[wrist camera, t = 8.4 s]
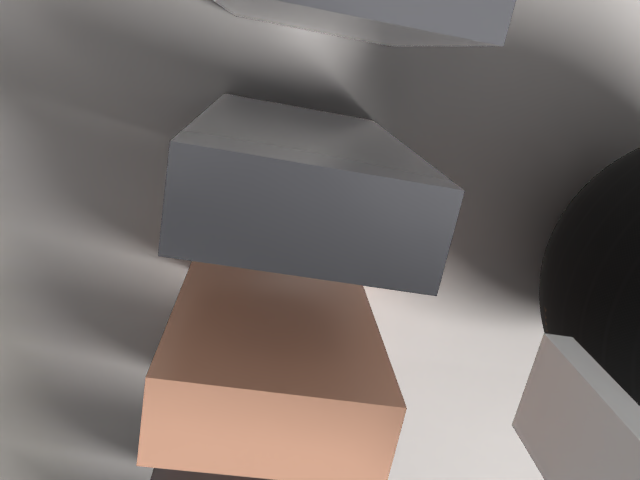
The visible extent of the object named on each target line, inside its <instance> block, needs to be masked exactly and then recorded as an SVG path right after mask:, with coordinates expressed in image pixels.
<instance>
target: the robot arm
mask: <svg viewBox="0 0 640 480" xmlns="http://www.w3.org/2000/svg"><path fill="white" fill-rule="evenodd" d="M512 426H513V428H514V429H515V431H516V433H517V434H518V436H519V438H520V439H521V441H522V443H523V444H524V446H525V448H526V449H527V451H528V453H529V454H530V456H531V458H532V459H533V461H534V463H535V464H536V466H537V468H538V469H539V471H540V473H541V474H542V476H543V478H544V480H640V406H639V405H638V404H637V403H636V402H635V401H634V400H633V399H632V398H631V397H630V396H629V395H628V394H627V393H626V392H625V391H624V390H623V389H622V388H621V386H620V385H619V384H618V383H617V382H616V381H615V380H614V379H613V378H612V377H611V376H610V375H609V374H608V373H607V372H606V371H605V370H604V369H603V368H602V367H601V366H600V365H599V364H598V363H597V362H596V361H595V360H594V359H593V358H592V357H591V356H590V355H589V354H588V353H587V351H586V350H585V349H584V348H583V347H582V346H581V345H580V344H579V343H578V342H577V341H576V340H575V339H574V338H573V337H567V336H560V335H553V334H545V333H544V335H543V338H542V341H541V344H540V346H539V349H538V352H537V355H536V358H535V361H534V364H533V366H532V369H531V372H530V375H529V378H528V381H527V383H526V386H525V389H524V392H523V395H522V398H521V401H520V403H519V406H518V409H517V412H516V415H515V418H514V421H513V423H512Z"/></svg>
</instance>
